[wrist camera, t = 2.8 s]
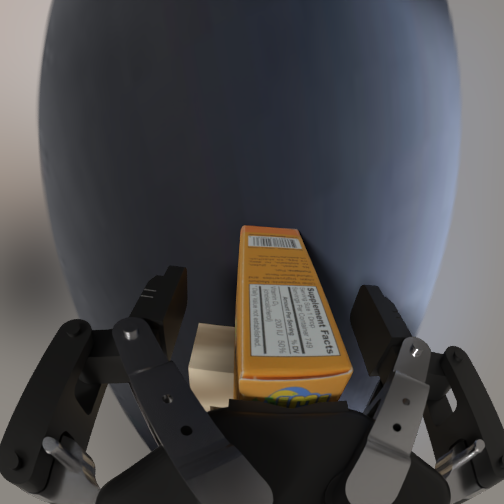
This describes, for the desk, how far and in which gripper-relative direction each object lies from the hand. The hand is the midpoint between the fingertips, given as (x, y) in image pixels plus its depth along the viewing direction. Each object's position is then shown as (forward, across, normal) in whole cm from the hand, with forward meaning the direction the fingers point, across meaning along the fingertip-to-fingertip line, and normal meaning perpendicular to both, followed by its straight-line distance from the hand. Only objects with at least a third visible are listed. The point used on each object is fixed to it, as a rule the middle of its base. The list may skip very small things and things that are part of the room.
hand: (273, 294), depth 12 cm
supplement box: (+4, 0, 0) cm, 4 cm away
